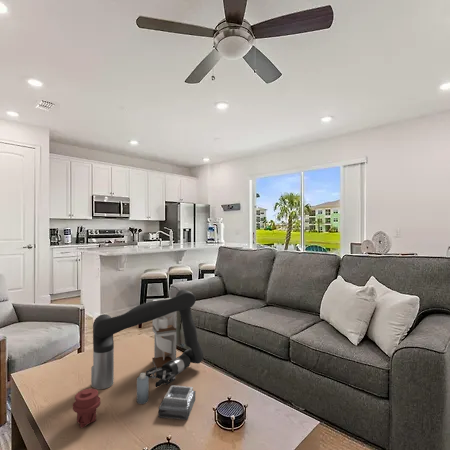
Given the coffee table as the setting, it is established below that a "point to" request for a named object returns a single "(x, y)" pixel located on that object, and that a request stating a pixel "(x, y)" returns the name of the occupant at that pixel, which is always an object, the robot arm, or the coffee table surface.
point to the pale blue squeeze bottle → (142, 388)
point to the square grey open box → (177, 403)
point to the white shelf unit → (164, 339)
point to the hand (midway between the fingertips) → (149, 382)
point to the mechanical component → (86, 406)
